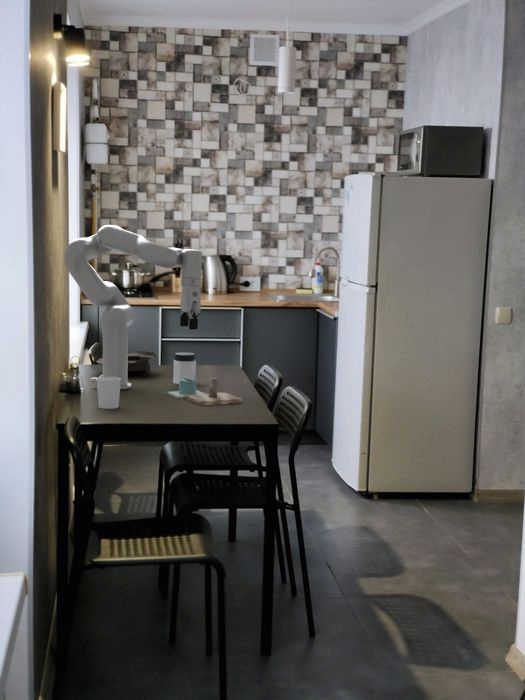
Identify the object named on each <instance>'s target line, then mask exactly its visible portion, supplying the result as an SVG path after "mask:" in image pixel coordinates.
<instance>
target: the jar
mask: <svg viewBox="0 0 525 700" xmlns="http://www.w3.org/2000/svg"><path fill="white" fill-rule="evenodd" d="M172 370H173V377H172V378H173V379H172V381H173V384H175V385H178V386H179V382H180V379H184V378H189V379H195V380H196V381H197V360H196V354H195V353H194V352H186V351H184V352H183V351H181V352H176V353H174V360H173V369H172Z"/></svg>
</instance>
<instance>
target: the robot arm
mask: <svg viewBox="0 0 525 700" xmlns="http://www.w3.org/2000/svg"><path fill="white" fill-rule="evenodd" d="M111 251H116V252H118V253H123V254H125V255H127V256H131V257H133V258H136V259H138V260H141V261H143V262H146V263H149V264H152V265H155V266H158V267H161V268H164V269H173V268H181V270H180V287H181V292H180V304H179V306H180V310H179V311H180V313H179V315H180V316H179V317H180V319H179V324H180V327H188V329H189V330H198V326H199V316H200V315H199V314H200V313H201V308H202V307H201V305H202V304H201V295H202V294H201V285H202V263H203V261H202V260H203V252H202V250H199V249H189V248H188V249H184V248H178V247H168V246H167V247H166V246H164V245H161V244H157V243H154V242H151V241H149V240H148V239H146V238H145V237H144V236H143V235H142V234H138V233H135V232H133V231H132V232H131V231H128V230H126V229H123V228H122V227H120V226H119V225H116V224H106V225H102V226H101V227H100V228H99V229H98V231H97V233H95V234H93V235H91V236H88V237H78V238H74V239H72V240H71V241H70V242H69V243H68V244H67V246H66V248H65V251H64V264H65V266H66V269H67V271H68V273H69V274H70V276H71V277H72V278H73V280H74V281H75V283H76V284H77V285H78V287H79V288H80V290H81V291H82V292H83V294H84V296H85V297H86V299H87V300H88V301H89V303H90V304H91V305H93V306H94V307H97V308H99V307H101V308H102V309H103V310H104V311H103V312H102V316H101V323H100V324H101V329H102V330H101V331H102V358H103V364H102V374H100V375H99V376H98V377H90V379H89V381H90V382H89V383H91V384H93V383H94V384H97V378H99V377H118V378H120V390H127V389H130V388H133V387H132V383H130V382H128V381H129V378H128V375H129V374H128V372H129V371H128V354H129V337H128V329H127V328H128V327H129V326H131V325H132V324H133V323H134V320H135V311H134V309H133V307H132V306H131V305H130V303H129V302H128V300H127V299H126V298H125V296H124V295H123V293H122V292H121V291H120V290H119V287H117V286H116V285H115V284H114V283H113V282H110V281H104V280H103V279H102V277H100V275H99V273H98V272H97V271H96V270H95V268H94V267H93V266H92V265H91V264H90V263H89V260H94V259H96V258H99V257H101V256H103V255H105V254H107V253H109V252H111Z"/></svg>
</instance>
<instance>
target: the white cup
mask: <svg viewBox="0 0 525 700" xmlns="http://www.w3.org/2000/svg"><path fill="white" fill-rule="evenodd" d="M98 377H99V378H98ZM98 377H96V378H97V383H96V384H97V385H96V386H97V387H96V389H97V399H98V402H97V403H98V408H99V409H103V410H104V409H105V410H112V409H117V408H119V407H120V406H119V404H120V394H121V393H120V391H121V389H120V378H118V377H100V376H98Z"/></svg>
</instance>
